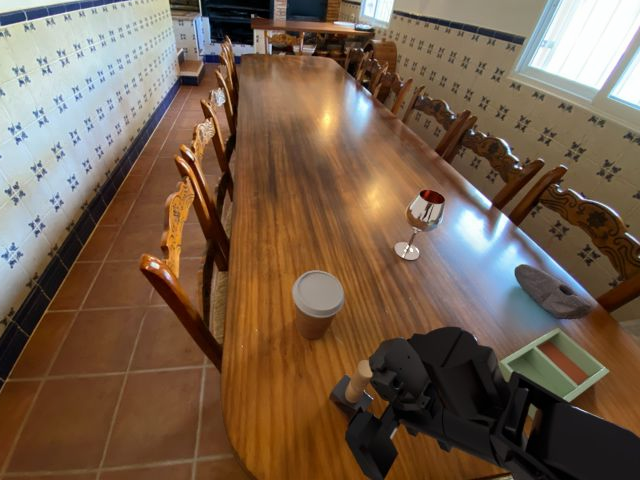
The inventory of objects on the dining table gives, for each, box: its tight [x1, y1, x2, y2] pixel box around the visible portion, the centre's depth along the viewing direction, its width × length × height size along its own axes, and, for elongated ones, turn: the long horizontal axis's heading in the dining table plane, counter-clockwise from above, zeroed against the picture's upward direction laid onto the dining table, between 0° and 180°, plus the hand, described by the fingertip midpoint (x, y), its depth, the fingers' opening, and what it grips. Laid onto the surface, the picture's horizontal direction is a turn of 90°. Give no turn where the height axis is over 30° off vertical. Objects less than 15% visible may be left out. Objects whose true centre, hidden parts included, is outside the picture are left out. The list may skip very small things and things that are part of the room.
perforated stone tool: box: [514, 263, 594, 320], centre depth 67 cm, size 15×5×7 cm, turn 18°
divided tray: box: [498, 327, 610, 421], centre depth 54 cm, size 9×17×4 cm, turn 114°
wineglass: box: [393, 188, 447, 261], centre depth 72 cm, size 8×8×18 cm
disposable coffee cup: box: [291, 269, 346, 340], centre depth 56 cm, size 10×10×12 cm
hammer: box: [328, 359, 374, 412], centre depth 46 cm, size 6×4×13 cm
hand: (353, 380), depth 46 cm, fingers open, 9 cm apart
